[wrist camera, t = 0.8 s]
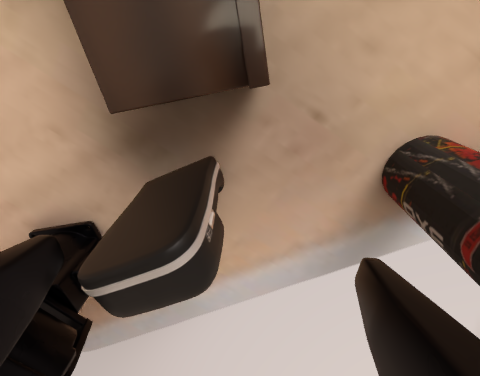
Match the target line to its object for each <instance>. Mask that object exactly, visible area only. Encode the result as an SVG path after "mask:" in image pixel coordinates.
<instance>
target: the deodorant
mask: <svg viewBox="0 0 480 376" xmlns="http://www.w3.org/2000/svg"><path fill="white" fill-rule="evenodd" d="M382 184H383V186H384V189H385V191H386V192H387V193H388V195H389V196H390V197H391V198H392V199H393V200H394V201H395V202H396V203H397V204H398V205H399V206H400V207H401V208H402V209H403V210H404V211H405V212H406V213H407V214H408V215H409V216H410V217H411V218H412V219H413V220H414V221H415V222H416V223H417V224H418V225H419V226H420V227H421V228H422V229H423V230H424V231H425V232H426V233H427V234H428V235H429V236H430V237H431V238H432V239H433V240H434V241H435V242H436V243H437V244H438V245H439V246H440V247H441V248H442V249H443V250H444V251H445V252H446V253H447V254H448V255H449V256H450V257H451V258H452V259H453V260H454V261H455V262H456V263H457V264H458V265H459V266H460V267H461V268H462V269H463V270H464V271H465V272H466V273H467V274H468V275H469V276H470V277H471V278H472V279H473V280H474V281H475V282H476V283H477V284H478V285H479V286H480V153H479V152H477V151H475V150H472V149H470V148H468V147H465V146H463V145H461V144H458V143H456V142H454V141H451V140H449V139H446V138H443V137H440V136H424V137H420V138H416V139H414V140H412V141H410V142H407V143H406V144H404V145H403V146H402V147H400V148H399V149H397V150H396V151H395V153H394V154H393V155H392V156H391V157H390V158H389V160H388V162H387V163H386V165H385V167H384V171H383V174H382Z"/></svg>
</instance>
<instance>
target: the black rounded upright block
mask: <svg viewBox="0 0 480 376" xmlns="http://www.w3.org/2000/svg"><path fill="white" fill-rule="evenodd" d="M219 167H220V165H219V163H218V162H217V161H216V160H215V158H214V157H213V156H210V157H207V158H204V159H202V160H199V161H197V162H194V163H192V164H190V165H187V166H185V167H182V168H180V169H178V170H175V171H173V172H170V173H168V174H166V175H163V176H161V177H159V178H156V179H154V180H152V181H149V182H147V183H146V184H145V185H144V186H143V188H142V189H141V190H140V192H139V193H138V194H137V196H136V197H135V198H134V199H133V201H132V202H131V203H130V204H129V206H128V207H127V208H126V209H125V210H124V211H123V213H122V214H121V215H120V216H119V218H118V219H117V220H116V221H115V222H114V224H113V225H112V226H111V227H110V229H109V230H108V231H107V232H106V234H105V235H104V236H103V237H102V239H101V240H100V241H99V243H98V244H97V245H96V247H95V248H94V249H93V251H92V252H91V253H90V255H89V256H88V257H87V259H86V260H85V261H84V263H83V264H82V266H81V268H80V269H79V272H78V275H77V277H78V281H79V283H80V284H81V285H82V290H83V291H84V292H85V293H86V294H87V295H89V296H91V297H93V298H94V299H95V300H96V301H97V302H98V303H99V304H100V305H101V306H102V307H103V308H104V309H105V310H106V311H108V312H109V313H110V314H112V315H114V316H117V317H122V318H124V317H130V316H134V315H138V314H141V313H145V312H149V311H152V310H156V309H160V308H163V307H166V306H169V305H172V304H175V303H178V302H181V301H185V300H188V299H190V298H193V297H195V296H198V295H200V294H201V293H203V292H204V291H206V290H207V289H208V287H209V286H210V285H211V284H212V282H213V280H214V278H215V277H216V274H217V271H218V267H219V262H220V257H221V252H222V246H223V238H224V226H223V224H222V221H221V219H220V217H219V216H218V214H217V212H216V209H217V201H218V193H219V192H220V191H221V190H222V189H223V187H224V178H223V174H222V172H221V170H220V168H219Z"/></svg>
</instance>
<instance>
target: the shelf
mask: <svg viewBox="0 0 480 376" xmlns="http://www.w3.org/2000/svg"><path fill="white" fill-rule="evenodd" d="M64 2H65V5H66V7H67V10H68V12H69V15H70V17H71V19H72V22H73V24H74V27H75V29H76V32H77V34H78V36H79V39H80V41H81V44H82V46H83V49H84V51H85V53H86V56H87V58H88V61H89V63H90V66H91V68H92V70H93V73H94V75H95V78H96V80H97V83H98V85H99V87H100V90H101V92H102V95H103V97H104V100H105V102H106V104H107V107H108V109H109V112H110V113H111V114H114V113H119V112H124V111H129V110H134V109H139V108H144V107H149V106H154V105H159V104H164V103H169V102H173V101H178V100H183V99H188V98H193V97H198V96H203V95H208V94H213V93H218V92H223V91H228V90H233V89H238V88H243V87H248V86H249V88H250V89H252V88H257V87H262V86H267V85H269V84H270V82H269V75H268V67H267V59H266V52H265V44H264V36H263V29H262V21H261V13H260V6H259V0H64Z"/></svg>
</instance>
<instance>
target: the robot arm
mask: <svg viewBox="0 0 480 376" xmlns="http://www.w3.org/2000/svg"><path fill="white" fill-rule="evenodd" d="M88 226H89V227H90V228H89V227H88ZM29 237H30V239H29V240H27V241H24V242H22V243H20V244H17V245H15V246H13V247H11V248H8V249H6V250H4V251H2V252H0V376H71V374H72V372H73V371H74V369H75V366H76V364H77V362H78V359H79V357H80V354H81V351H82V349H83V346H84V344H85V341H86V338H87V336H88V333H89V331H90V328H91V325H92V323H93V321H91V320H90V319H88V318H87V319H86V318H84V317H83V316H81V315H79V314H78V312H79V311H80V309H81V307H82V306H83V304H84V303H85V301H86V300H87V298H88V297H89V295H87V294H86V293H85V292H84V291H83V290H82V285H81V284H80V283H79V281H78V277H77V275H78V272H79V269H80V268H81V266H82V264H83V263H84V261H85V260H86V259H87V257H88V256H89V255H90V253H91V252H92V251H93V249H94V248H95V247H96V245H97V244H98V243H99V241H100V240H101V239H102V237H101V235H100V233H99V231H98V229H97V227H96V226H95V224H94V223H92V222H89V221H88V222H81V223H75V224H69V225H62V226H56V227H49V228H43V229H37V230H33V231H32V232H30V233H29ZM355 287H356V292H357V296H358V301H359V305H360V310H361V315H362V319H363V324H364V328H365V332H366V336H367V340H368V343H369V347H370V350H371V353H372V356H373V359H374V362H375V365H376V368H377V371H378V374H379V376H480V339H479V338H478V337H476V336H475V335H474V334H473V333H471V332H470V331H469V330H468V329H466V328H465V327H464V326H463V325H461V324H460V323H459V322H458V321H456V320H455V319H454V318H452V317H451V316H450V315H449V314H448V313H446V312H445V311H444V310H443V309H441V308H440V307H439V306H437V305H436V304H435V303H434V302H432V301H431V300H430V299H429V298H428V297H426V296H425V295H424V294H423V293H421V292H420V291H418V290H417V289H416V288H415V287H414V286H412V285H411V284H410V283H409V282H407V281H406V280H405V279H404V278H402V277H401V276H400V275H399V274H397V273H396V272H395V271H394V270H392V269H391V268H390V267H389V266H387V265H386V264H385V263H384V262H382V261H381V260H379V259H377V258H363V259H362V261H361V263H360V266H359V269H358V272H357V274H356V277H355Z"/></svg>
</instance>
